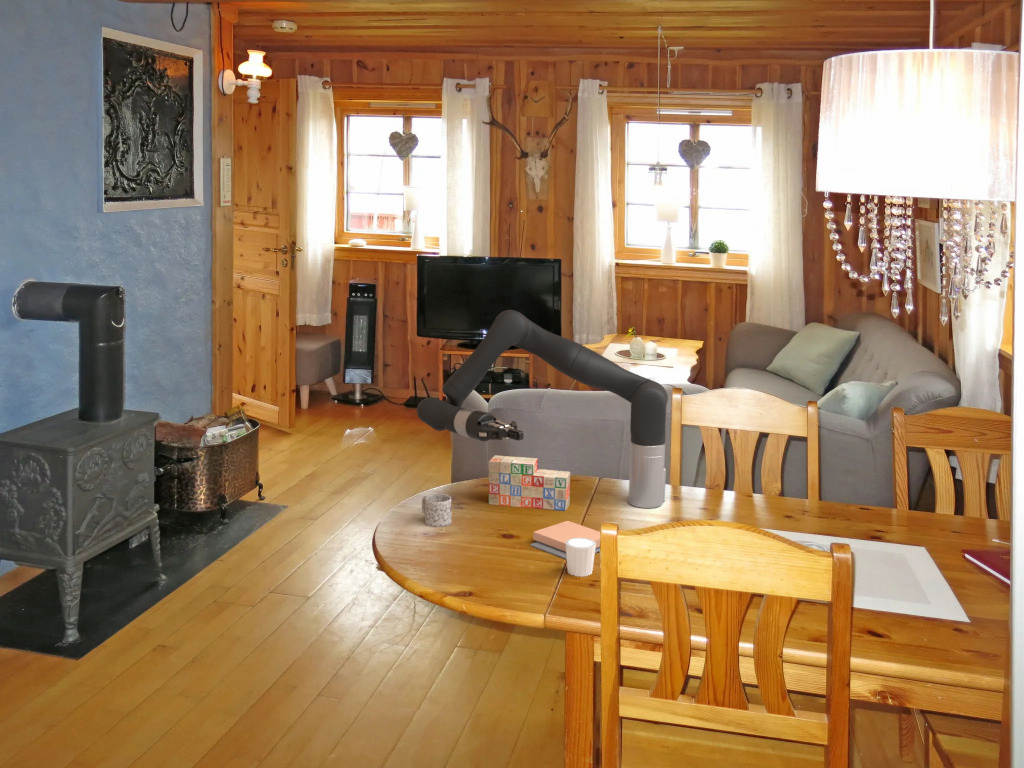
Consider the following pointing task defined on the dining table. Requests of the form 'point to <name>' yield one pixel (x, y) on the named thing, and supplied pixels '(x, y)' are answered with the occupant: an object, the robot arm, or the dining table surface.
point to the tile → (565, 534)
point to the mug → (437, 510)
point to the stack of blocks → (527, 484)
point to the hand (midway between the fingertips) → (521, 436)
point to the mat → (553, 549)
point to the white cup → (580, 556)
